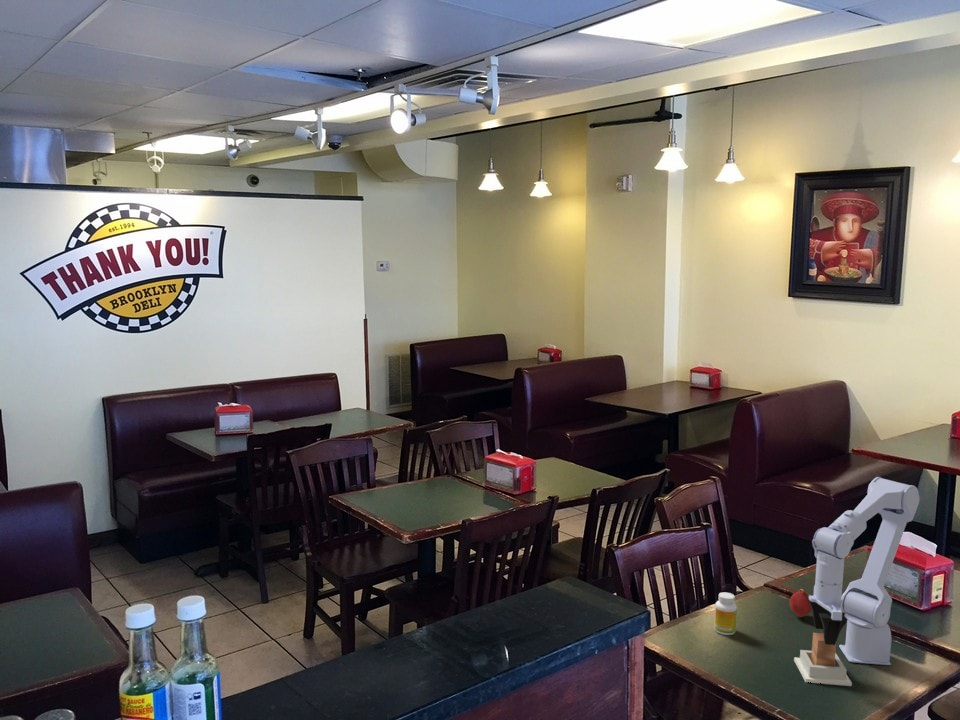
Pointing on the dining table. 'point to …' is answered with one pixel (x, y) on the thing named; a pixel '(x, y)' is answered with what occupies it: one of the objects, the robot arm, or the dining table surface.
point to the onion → (800, 603)
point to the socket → (822, 670)
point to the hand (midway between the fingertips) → (824, 636)
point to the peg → (822, 651)
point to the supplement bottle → (725, 614)
